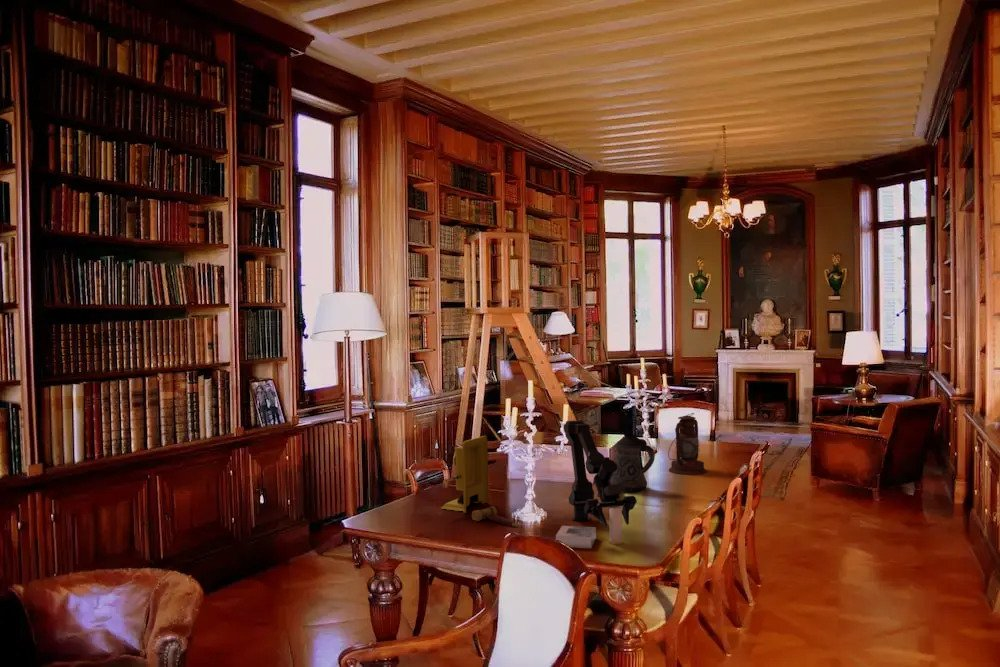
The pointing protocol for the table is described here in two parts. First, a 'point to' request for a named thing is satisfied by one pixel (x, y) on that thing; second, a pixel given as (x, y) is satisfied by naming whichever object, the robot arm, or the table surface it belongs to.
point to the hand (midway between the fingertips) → (617, 525)
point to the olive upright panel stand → (470, 474)
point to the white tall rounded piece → (615, 525)
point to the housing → (577, 536)
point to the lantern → (687, 448)
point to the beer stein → (632, 464)
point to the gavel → (491, 516)
